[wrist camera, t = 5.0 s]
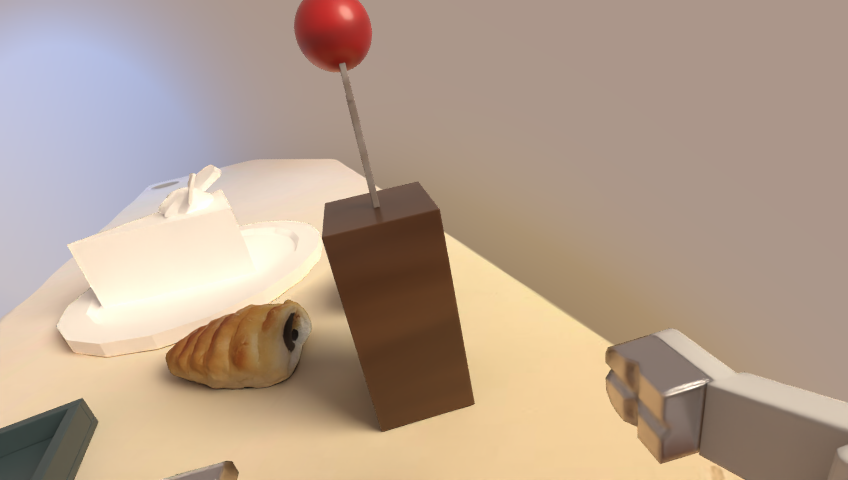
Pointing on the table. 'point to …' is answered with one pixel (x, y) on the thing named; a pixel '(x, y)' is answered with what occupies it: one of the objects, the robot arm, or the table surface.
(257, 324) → the pastry
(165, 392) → the table surface
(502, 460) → the table surface
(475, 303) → the table surface
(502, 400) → the table surface
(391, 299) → the red ball lever
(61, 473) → the teal serving tray
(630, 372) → the robot arm
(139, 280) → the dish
